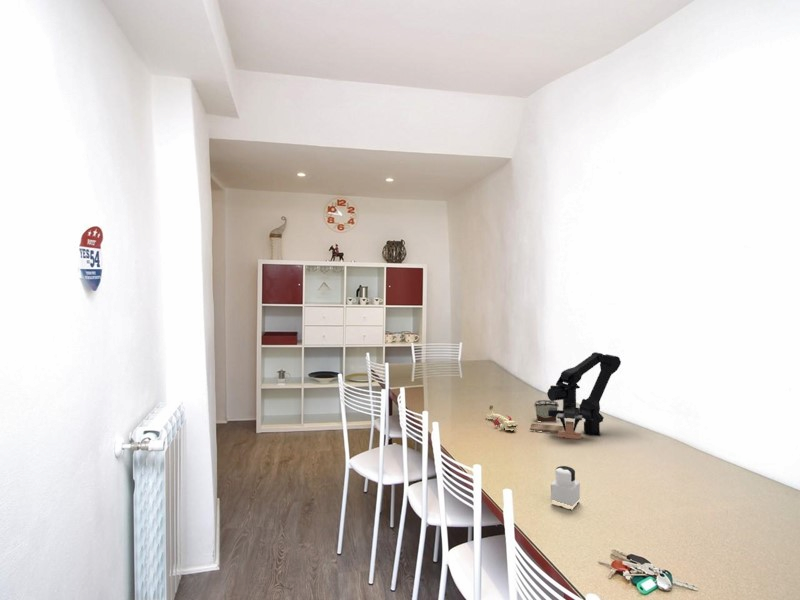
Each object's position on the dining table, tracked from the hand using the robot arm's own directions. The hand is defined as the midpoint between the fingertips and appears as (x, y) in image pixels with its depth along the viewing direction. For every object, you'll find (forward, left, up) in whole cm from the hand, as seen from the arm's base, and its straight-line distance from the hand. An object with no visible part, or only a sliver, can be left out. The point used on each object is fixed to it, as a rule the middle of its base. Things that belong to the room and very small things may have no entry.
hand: (569, 431), depth 220 cm
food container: (+12, -22, -3) cm, 26 cm away
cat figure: (+32, -8, -3) cm, 34 cm away
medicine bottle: (+1, +68, -3) cm, 68 cm away
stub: (0, 0, -2) cm, 2 cm away
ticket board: (+10, -6, -2) cm, 12 cm away
